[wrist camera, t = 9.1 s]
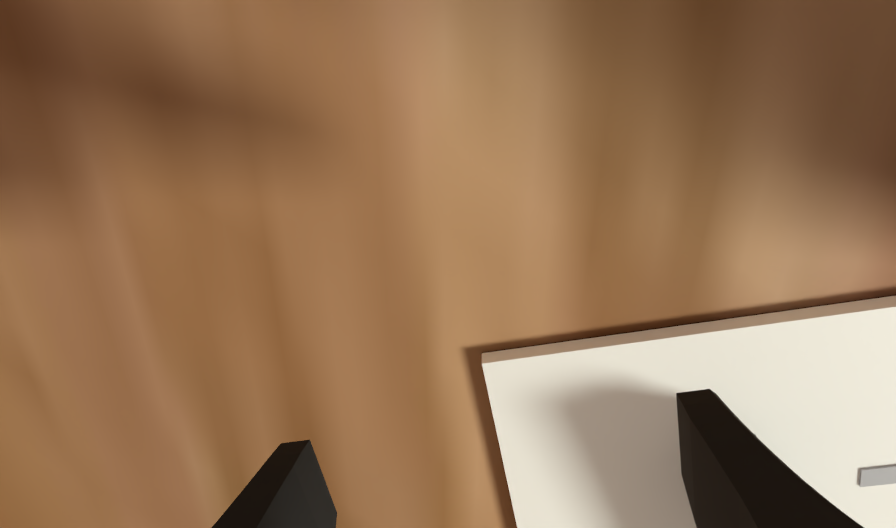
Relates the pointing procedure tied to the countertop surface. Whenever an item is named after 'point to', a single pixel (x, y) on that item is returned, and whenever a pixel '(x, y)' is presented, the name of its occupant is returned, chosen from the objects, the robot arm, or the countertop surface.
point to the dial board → (656, 420)
